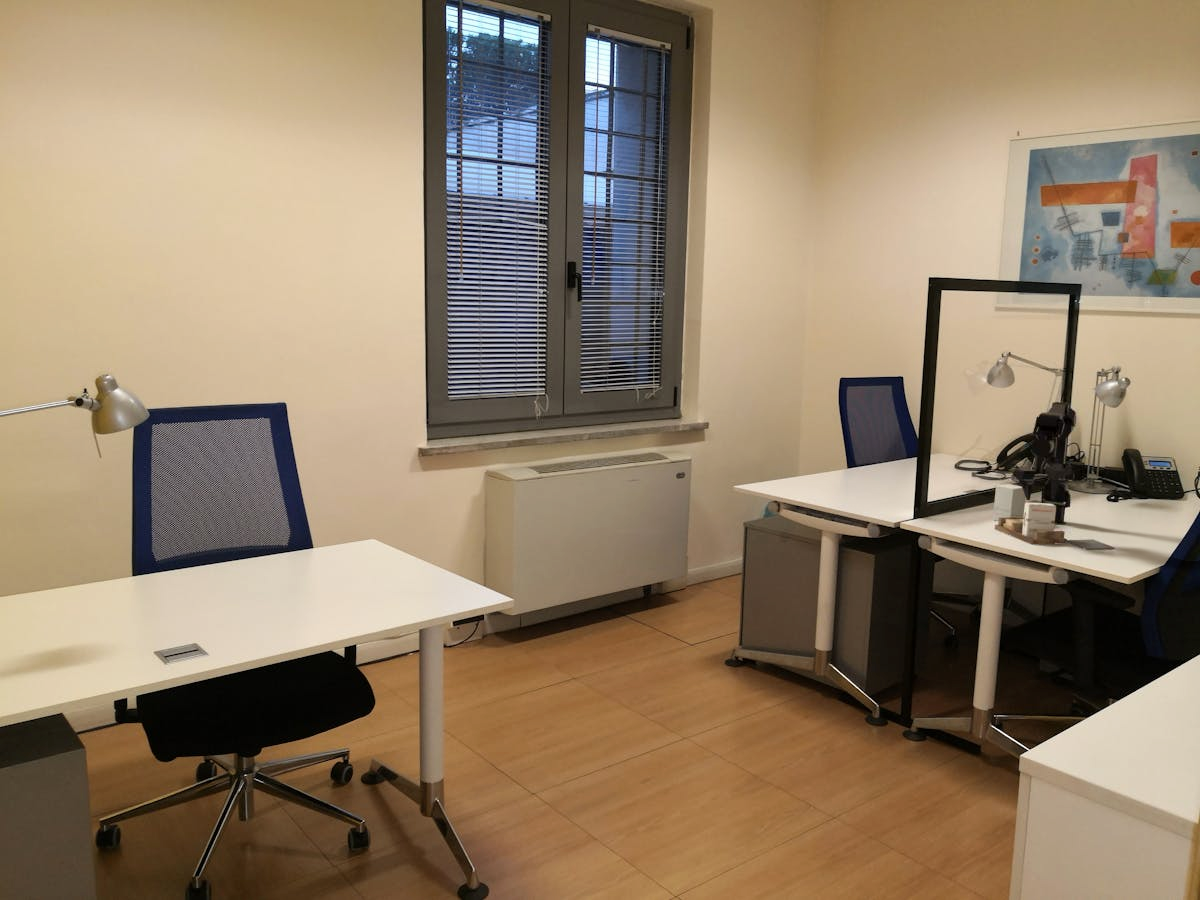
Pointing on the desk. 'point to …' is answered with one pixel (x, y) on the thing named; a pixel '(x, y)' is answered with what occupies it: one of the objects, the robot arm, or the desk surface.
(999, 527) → the walnut rack
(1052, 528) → the ink box
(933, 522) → the desk surface
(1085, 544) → the dark grey mat
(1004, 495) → the supplement box
